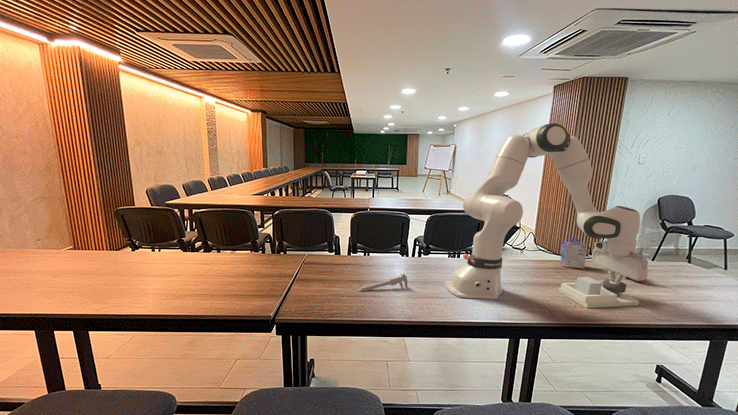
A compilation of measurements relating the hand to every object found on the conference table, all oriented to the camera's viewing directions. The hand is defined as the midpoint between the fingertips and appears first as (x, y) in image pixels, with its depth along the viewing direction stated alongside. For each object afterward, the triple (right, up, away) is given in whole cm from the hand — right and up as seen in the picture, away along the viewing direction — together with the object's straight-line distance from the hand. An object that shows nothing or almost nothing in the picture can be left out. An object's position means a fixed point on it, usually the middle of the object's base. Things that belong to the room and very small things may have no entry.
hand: (614, 282), depth 121 cm
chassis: (-7, -6, 0) cm, 9 cm away
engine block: (-12, -5, -1) cm, 13 cm away
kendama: (+25, -3, +24) cm, 34 cm away
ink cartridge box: (+7, -1, +36) cm, 36 cm away
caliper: (-91, -4, +3) cm, 91 cm away
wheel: (0, -3, 0) cm, 3 cm away
